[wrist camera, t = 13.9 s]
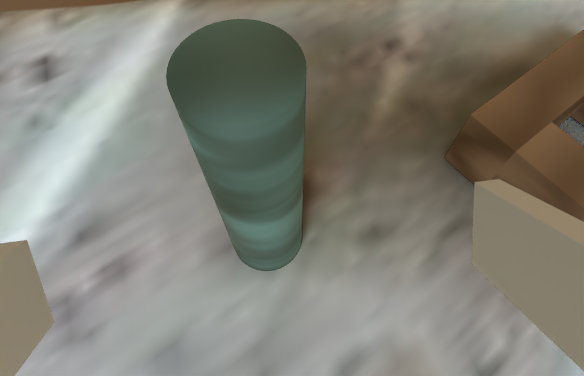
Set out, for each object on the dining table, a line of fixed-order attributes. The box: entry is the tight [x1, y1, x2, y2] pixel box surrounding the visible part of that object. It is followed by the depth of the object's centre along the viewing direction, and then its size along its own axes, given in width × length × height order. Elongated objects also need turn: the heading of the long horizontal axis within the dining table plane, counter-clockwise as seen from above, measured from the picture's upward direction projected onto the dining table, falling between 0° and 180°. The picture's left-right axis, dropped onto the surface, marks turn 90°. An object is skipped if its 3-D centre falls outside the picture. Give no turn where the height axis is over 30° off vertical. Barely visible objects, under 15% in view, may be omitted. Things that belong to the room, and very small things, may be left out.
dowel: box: [166, 19, 306, 271], centre depth 18 cm, size 4×4×14 cm
